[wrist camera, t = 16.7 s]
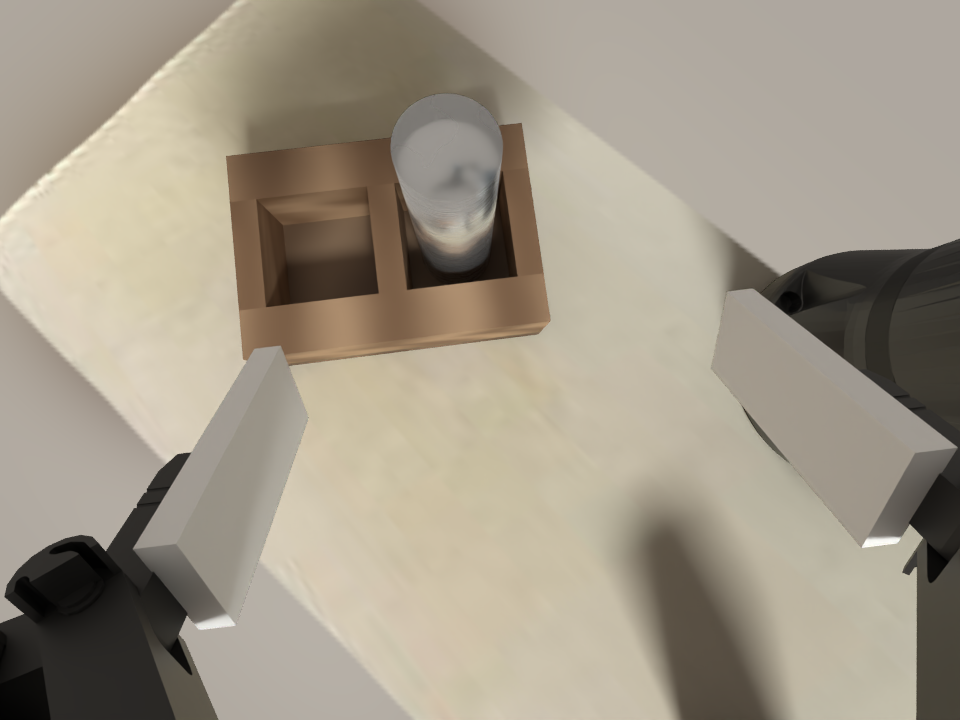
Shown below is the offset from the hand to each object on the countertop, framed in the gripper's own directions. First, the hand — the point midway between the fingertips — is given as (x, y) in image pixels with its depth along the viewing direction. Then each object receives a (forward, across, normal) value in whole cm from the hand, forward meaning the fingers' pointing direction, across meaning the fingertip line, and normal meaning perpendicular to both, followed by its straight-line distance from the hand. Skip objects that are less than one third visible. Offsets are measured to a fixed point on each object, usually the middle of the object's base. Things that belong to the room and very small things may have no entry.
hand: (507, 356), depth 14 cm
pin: (+18, -1, -4) cm, 19 cm away
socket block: (+19, -5, -4) cm, 20 cm away
